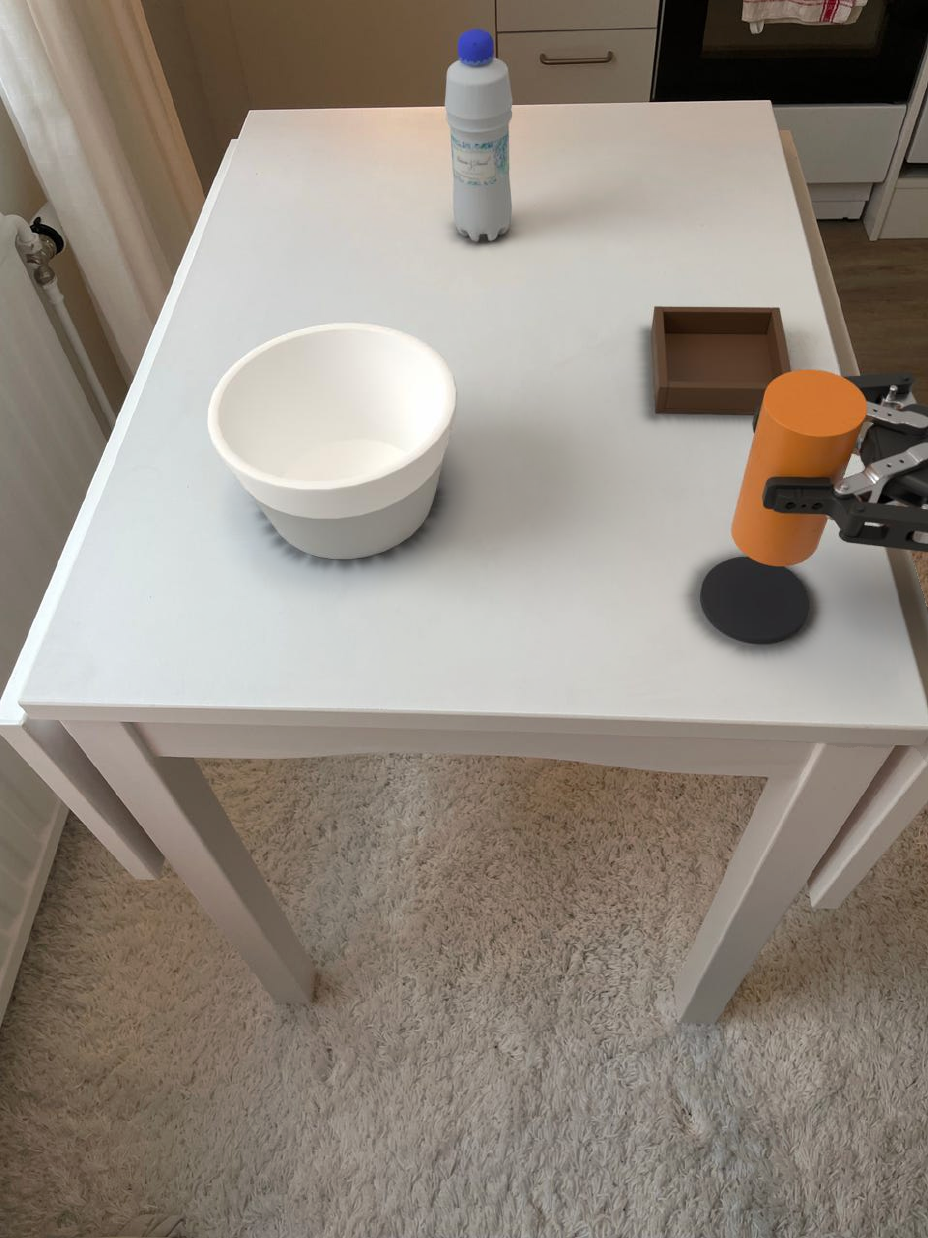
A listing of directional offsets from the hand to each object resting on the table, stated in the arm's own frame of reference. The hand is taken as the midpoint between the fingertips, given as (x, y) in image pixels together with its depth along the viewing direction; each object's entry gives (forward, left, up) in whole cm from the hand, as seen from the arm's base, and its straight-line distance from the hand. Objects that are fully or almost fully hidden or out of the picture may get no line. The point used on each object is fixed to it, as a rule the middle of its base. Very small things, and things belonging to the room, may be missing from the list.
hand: (760, 455), depth 61 cm
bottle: (+38, -40, -15) cm, 57 cm away
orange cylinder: (-2, -1, -7) cm, 8 cm away
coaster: (-2, -1, -15) cm, 15 cm away
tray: (+8, -26, -15) cm, 31 cm away
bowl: (+32, +1, -15) cm, 35 cm away
